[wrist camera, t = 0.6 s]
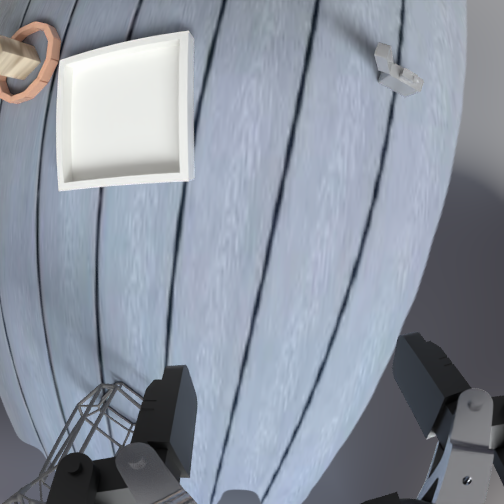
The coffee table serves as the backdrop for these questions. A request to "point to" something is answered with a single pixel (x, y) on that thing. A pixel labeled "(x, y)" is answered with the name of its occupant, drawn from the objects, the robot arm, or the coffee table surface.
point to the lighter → (395, 73)
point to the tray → (127, 114)
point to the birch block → (17, 58)
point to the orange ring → (47, 69)
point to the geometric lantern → (69, 441)
